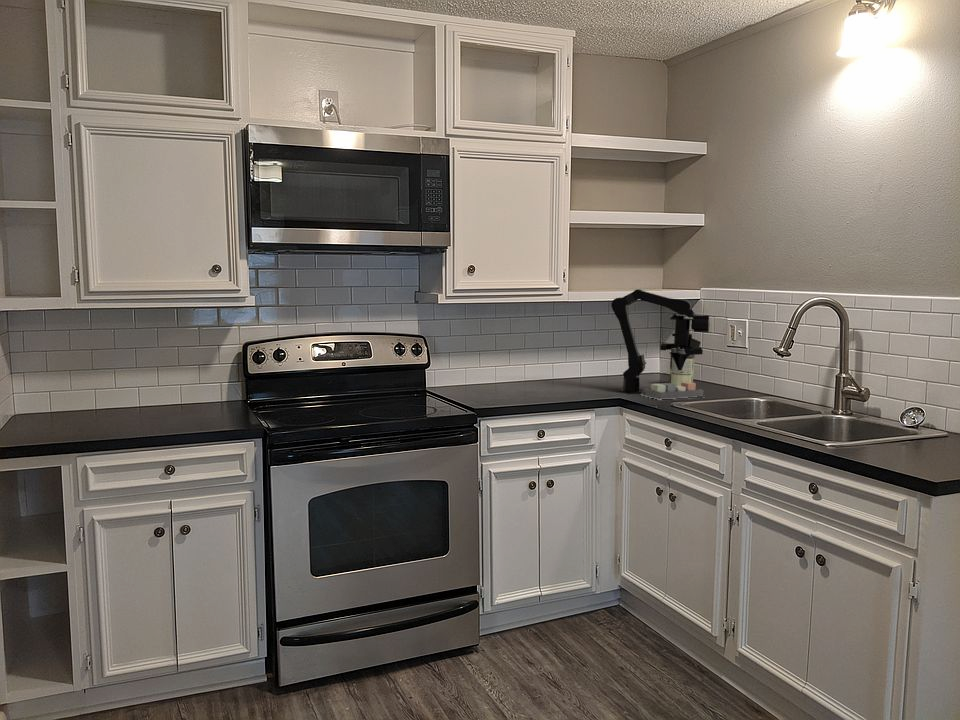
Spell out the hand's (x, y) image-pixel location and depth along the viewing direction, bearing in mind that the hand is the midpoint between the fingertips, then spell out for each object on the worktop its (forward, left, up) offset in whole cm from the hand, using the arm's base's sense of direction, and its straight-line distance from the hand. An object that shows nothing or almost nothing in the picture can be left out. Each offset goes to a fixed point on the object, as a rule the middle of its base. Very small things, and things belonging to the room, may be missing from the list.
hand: (679, 370), depth 314 cm
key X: (0, -5, -8) cm, 10 cm away
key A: (0, -11, -8) cm, 13 cm away
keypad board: (0, -3, -11) cm, 11 cm away
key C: (0, 0, -10) cm, 10 cm away
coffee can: (-20, +19, -11) cm, 30 cm away
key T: (0, +5, -8) cm, 10 cm away
